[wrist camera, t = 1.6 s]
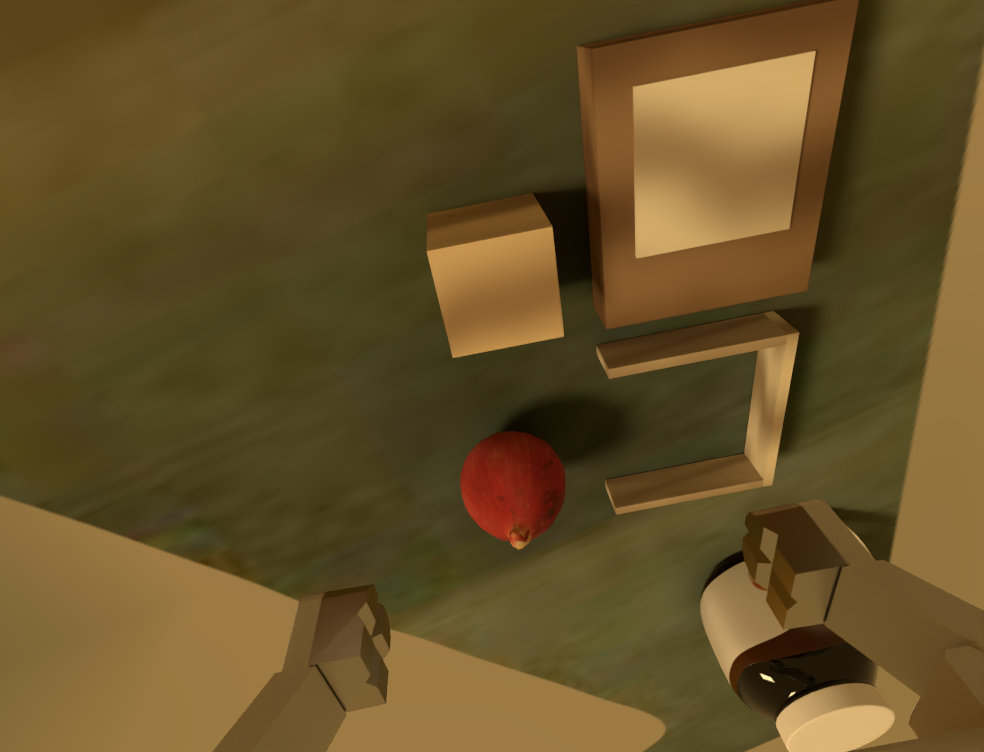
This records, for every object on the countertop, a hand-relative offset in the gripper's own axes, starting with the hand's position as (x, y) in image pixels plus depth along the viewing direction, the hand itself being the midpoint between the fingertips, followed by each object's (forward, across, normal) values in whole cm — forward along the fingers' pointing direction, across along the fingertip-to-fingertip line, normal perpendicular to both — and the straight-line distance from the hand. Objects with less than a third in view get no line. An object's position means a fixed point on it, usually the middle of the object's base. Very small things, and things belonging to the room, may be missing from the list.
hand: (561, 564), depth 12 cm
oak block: (+18, 0, -1) cm, 18 cm away
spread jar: (+19, -17, +28) cm, 38 cm away
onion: (+18, +1, +11) cm, 22 cm away
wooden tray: (+18, -10, +4) cm, 21 cm away
